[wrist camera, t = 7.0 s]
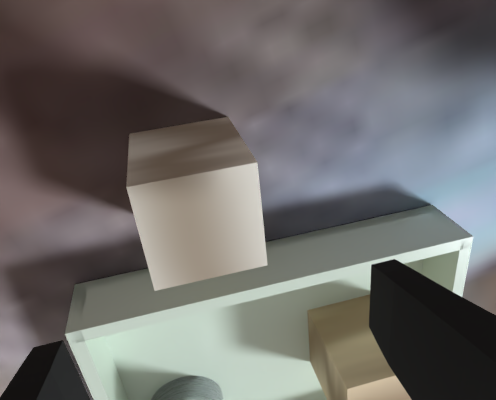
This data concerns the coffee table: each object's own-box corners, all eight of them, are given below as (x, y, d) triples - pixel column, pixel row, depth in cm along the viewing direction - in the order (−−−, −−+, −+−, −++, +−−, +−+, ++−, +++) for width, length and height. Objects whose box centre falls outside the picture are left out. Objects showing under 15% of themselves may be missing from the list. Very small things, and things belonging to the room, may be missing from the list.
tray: (432, 204, 22) (473, 236, 19) (411, 373, 28) (440, 414, 26) (74, 284, 19) (64, 333, 17) (139, 450, 26) (140, 506, 23)
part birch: (227, 116, 17) (257, 162, 13) (238, 201, 19) (267, 265, 15) (129, 133, 17) (126, 187, 13) (150, 218, 19) (154, 291, 14)
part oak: (307, 310, 23) (347, 389, 18) (376, 292, 23) (431, 365, 19) (309, 361, 24) (346, 443, 20) (374, 344, 25) (423, 420, 21)
